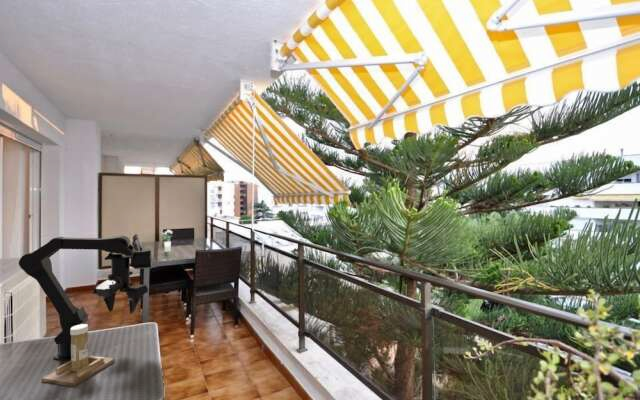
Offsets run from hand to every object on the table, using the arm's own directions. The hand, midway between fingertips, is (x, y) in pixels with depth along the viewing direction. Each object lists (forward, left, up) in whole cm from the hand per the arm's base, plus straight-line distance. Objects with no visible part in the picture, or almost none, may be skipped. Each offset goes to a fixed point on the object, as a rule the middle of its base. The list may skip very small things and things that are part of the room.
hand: (121, 312), depth 115 cm
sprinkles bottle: (0, -16, -12) cm, 20 cm away
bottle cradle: (0, -16, -13) cm, 21 cm away
